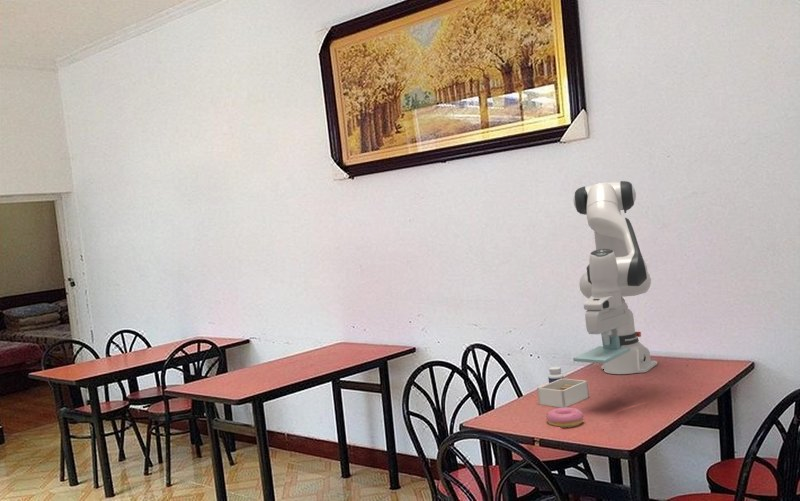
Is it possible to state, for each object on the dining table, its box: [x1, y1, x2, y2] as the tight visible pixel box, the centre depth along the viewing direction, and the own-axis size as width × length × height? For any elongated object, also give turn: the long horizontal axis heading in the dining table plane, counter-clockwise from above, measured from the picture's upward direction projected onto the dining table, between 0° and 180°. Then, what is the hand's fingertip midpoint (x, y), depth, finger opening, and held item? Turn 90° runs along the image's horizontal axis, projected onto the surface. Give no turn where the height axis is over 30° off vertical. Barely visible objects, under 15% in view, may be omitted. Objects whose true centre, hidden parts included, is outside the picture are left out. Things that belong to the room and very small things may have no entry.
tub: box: [536, 378, 590, 408], centre depth 234 cm, size 14×10×6 cm
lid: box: [572, 335, 630, 365], centre depth 222 cm, size 15×11×5 cm
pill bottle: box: [547, 366, 565, 384], centre depth 247 cm, size 5×5×9 cm
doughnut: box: [545, 406, 585, 429], centre depth 212 cm, size 11×11×4 cm
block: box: [560, 385, 574, 390], centre depth 236 cm, size 4×4×4 cm
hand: (611, 343), depth 226 cm, fingers closed on lid, 2 cm apart
